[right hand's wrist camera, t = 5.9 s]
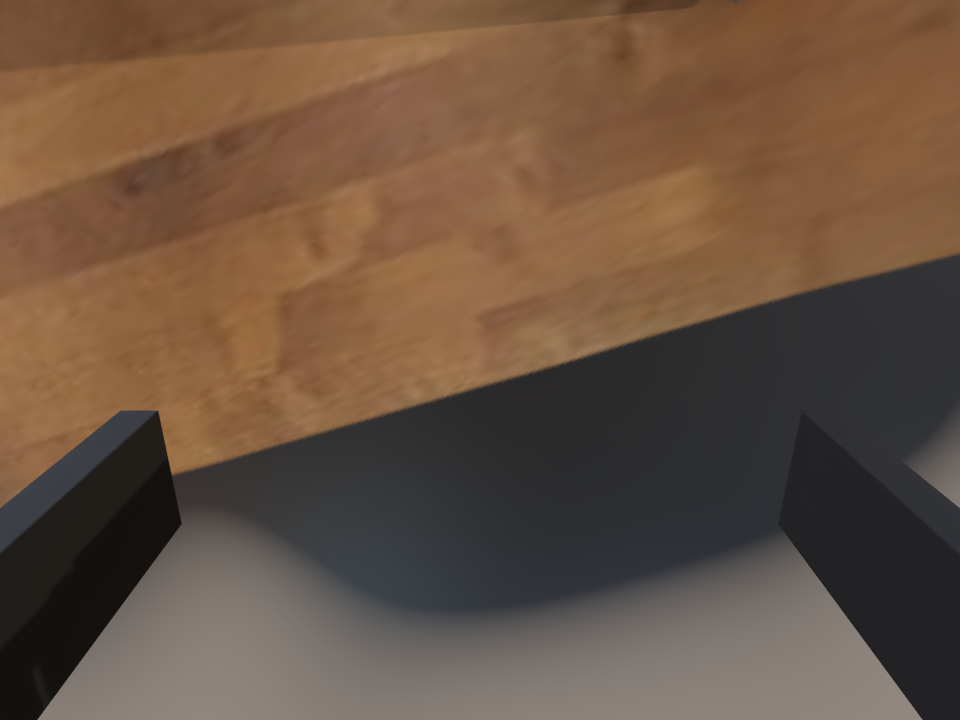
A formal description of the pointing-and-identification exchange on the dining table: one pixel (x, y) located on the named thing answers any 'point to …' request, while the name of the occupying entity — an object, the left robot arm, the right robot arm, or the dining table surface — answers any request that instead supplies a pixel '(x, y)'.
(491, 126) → the dining table surface
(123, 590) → the right robot arm
